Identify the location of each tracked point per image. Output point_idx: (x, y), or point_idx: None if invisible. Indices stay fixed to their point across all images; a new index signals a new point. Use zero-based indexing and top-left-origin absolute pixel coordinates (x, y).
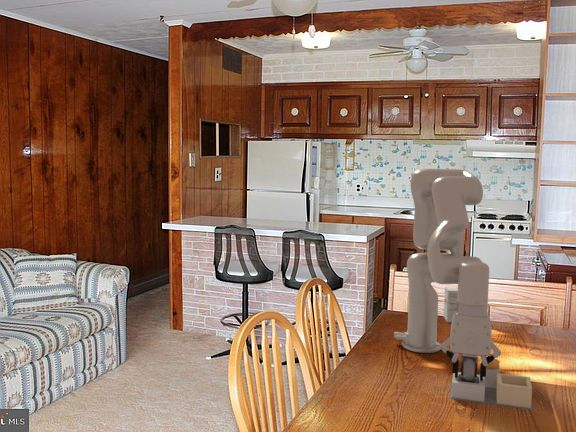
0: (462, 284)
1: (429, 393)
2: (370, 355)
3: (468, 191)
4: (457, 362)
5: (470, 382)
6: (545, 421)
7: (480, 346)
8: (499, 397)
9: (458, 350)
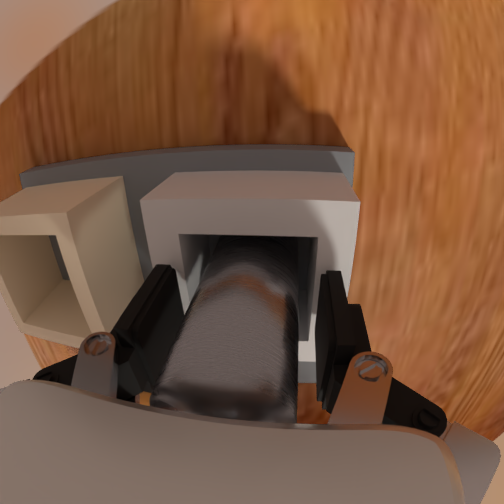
0: None
1: (425, 246)
2: (492, 420)
3: None
4: (334, 361)
5: (234, 248)
6: (8, 143)
7: (29, 479)
8: (98, 186)
9: (355, 459)
